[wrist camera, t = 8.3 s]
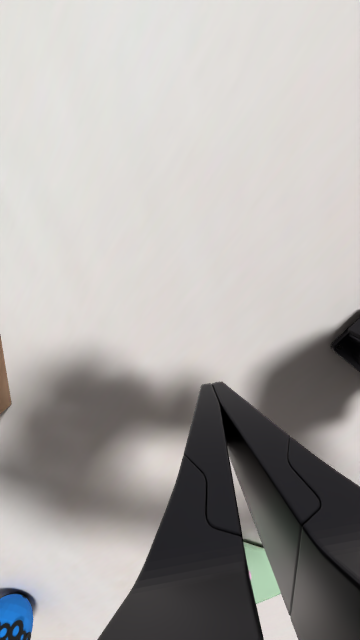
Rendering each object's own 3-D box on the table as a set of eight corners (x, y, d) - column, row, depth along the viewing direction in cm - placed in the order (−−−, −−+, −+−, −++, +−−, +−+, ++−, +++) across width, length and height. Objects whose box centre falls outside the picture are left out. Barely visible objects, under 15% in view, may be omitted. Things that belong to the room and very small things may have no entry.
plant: (217, 631, 37) (226, 745, 29) (108, 593, 35) (82, 707, 26) (314, 558, 30) (365, 681, 21) (185, 503, 27) (185, 619, 19)
